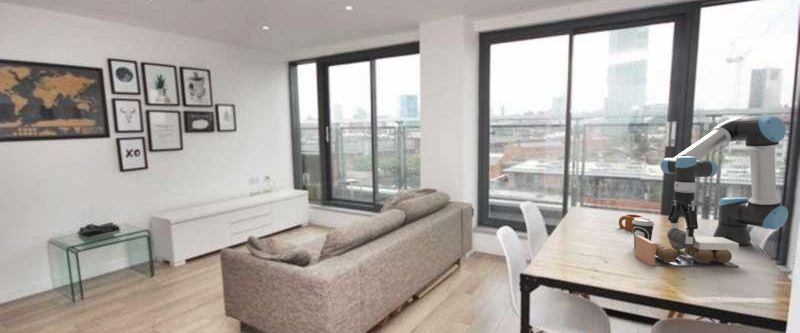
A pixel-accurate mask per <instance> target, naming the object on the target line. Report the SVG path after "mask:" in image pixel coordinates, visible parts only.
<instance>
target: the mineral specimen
mask: <svg viewBox="0 0 800 333" xmlns="http://www.w3.org/2000/svg"><path fill="white" fill-rule="evenodd" d="M668 241H669V243H670V245H671V246H670V247H671V249H673V250H675V251H676V252H681V251H682V250H684V249H685V247H684V246H682V245H680V244H678V243H676V242H673V241H671V240H670V239H669V238H668Z"/></svg>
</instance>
